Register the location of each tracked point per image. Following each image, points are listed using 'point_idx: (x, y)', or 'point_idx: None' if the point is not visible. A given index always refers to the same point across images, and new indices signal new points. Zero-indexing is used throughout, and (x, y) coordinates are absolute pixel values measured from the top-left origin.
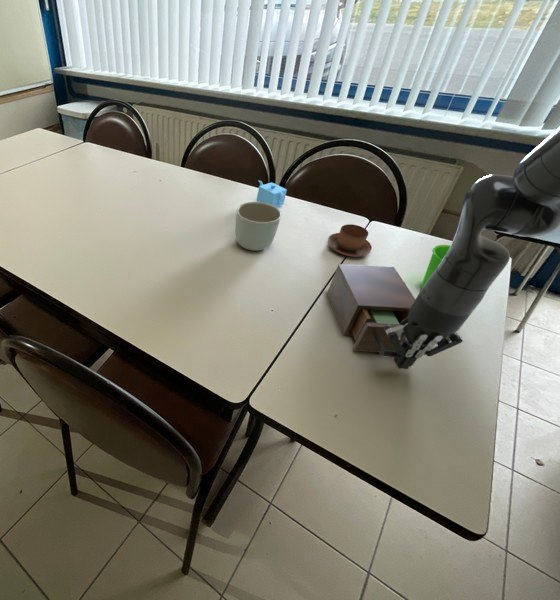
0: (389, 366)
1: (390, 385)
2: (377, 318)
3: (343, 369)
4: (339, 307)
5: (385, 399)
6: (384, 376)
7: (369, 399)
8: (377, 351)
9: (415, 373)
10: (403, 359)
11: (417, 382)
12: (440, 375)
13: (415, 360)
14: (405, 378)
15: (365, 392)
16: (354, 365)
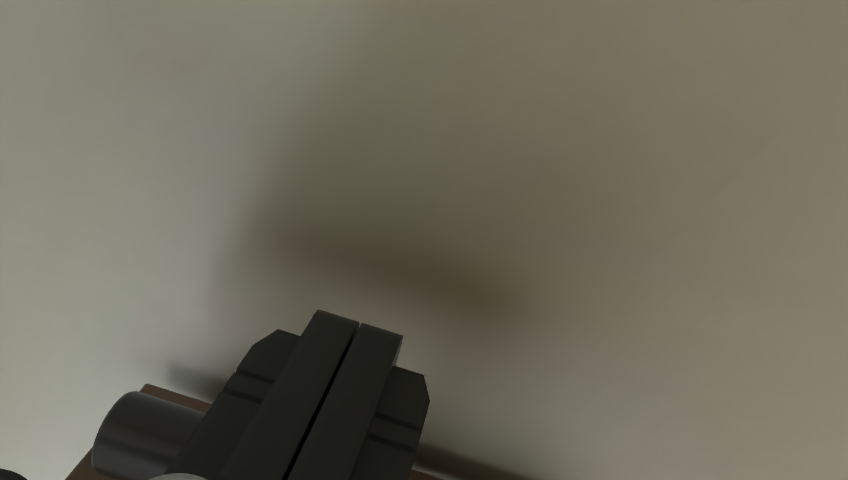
0: None
1: (465, 184)
2: None
3: (768, 407)
4: None
5: (627, 55)
6: (457, 271)
7: (801, 88)
8: None
9: (186, 236)
10: (368, 467)
11: (212, 160)
12: (4, 177)
13: (212, 412)
14: (291, 215)
15: (770, 169)
16: (637, 411)
